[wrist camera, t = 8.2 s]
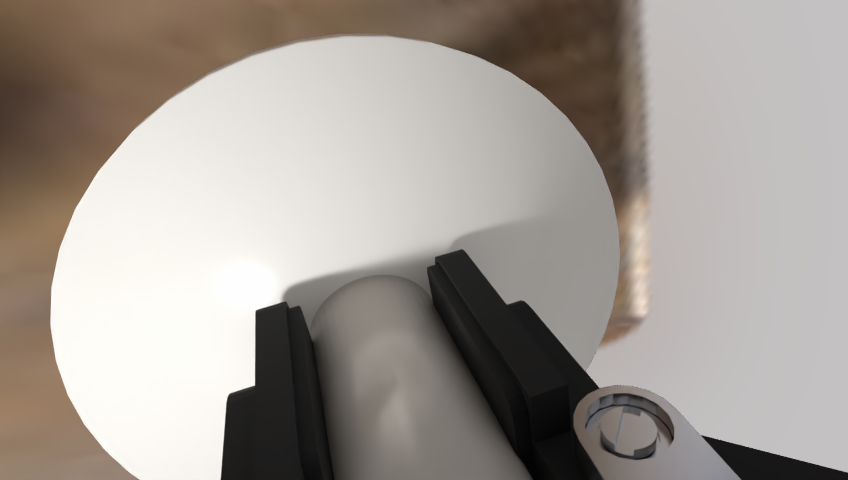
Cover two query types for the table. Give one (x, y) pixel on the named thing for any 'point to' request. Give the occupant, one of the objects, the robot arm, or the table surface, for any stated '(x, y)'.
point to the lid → (327, 253)
